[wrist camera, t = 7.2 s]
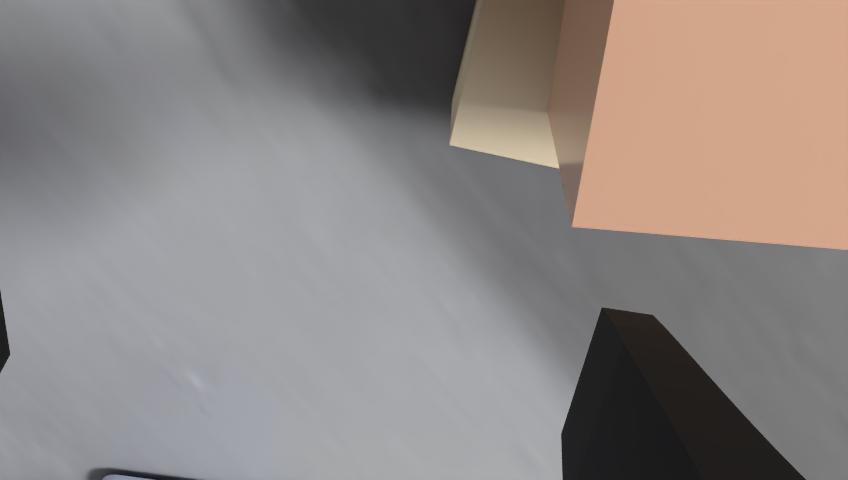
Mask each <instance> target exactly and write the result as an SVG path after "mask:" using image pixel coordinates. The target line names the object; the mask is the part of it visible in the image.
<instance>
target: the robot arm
mask: <svg viewBox="0 0 848 480" xmlns="http://www.w3.org/2000/svg"><path fill="white" fill-rule="evenodd" d="M9 356H10V350H9V344H8V338H7V331H6V325H5V318H4V312H3V305H2V299H1V292H0V372H1V370H2V369H3V367H4V365H5V363H6V361H7V359H8V357H9ZM561 440H562V471H563V480H806V479H805V478H804V477H803V476H802V475H801V474H800V473H799V472H798V471H797V470H796V469H795V468H794V467H793V466H792V465H791V464H790V463H789V462H788V461H787V460H786V459H785V458H784V457H783V456H782V455H781V454H780V453H779V452H778V451H777V450H776V449H775V448H774V447H773V446H772V445H771V444H770V443H769V441H768V440H767V439H766V438H765V437H764V436H763V435H762V434H761V433H760V432H759V431H758V430H757V429H756V428H755V427H754V426H753V424H752V423H751V422H750V421H749V420H748V419H747V418H746V417H745V416H744V415H743V414H742V413H741V412H740V410H739V409H738V408H737V407H736V406H735V405H734V404H733V403H732V402H731V401H730V399H729V398H728V397H727V396H726V395H725V394H724V393H723V392H722V391H721V389H720V388H719V387H718V386H717V385H716V384H715V383H714V382H713V380H712V379H711V378H710V377H709V376H708V375H707V374H706V373H705V371H704V370H703V369H702V368H701V367H700V366H699V365H698V364H697V363H696V361H695V360H694V359H693V358H692V357H691V356H690V355H689V354H688V352H687V351H686V350H685V349H684V348H683V347H682V346H681V345H680V343H679V342H678V341H677V340H676V339H675V338H674V337H673V336H672V335H671V334H670V332H669V331H668V330H667V329H666V328H665V327H664V326H663V325H662V324H661V323H660V322H659V321H658V320H657V319H656V318H655V317H654V316H653V315H649V314H642V313H635V312H629V311H622V310H615V309H609V308H602V309H601V312H600V315H599V318H598V321H597V324H596V328H595V331H594V334H593V337H592V340H591V343H590V346H589V349H588V353H587V356H586V359H585V362H584V365H583V368H582V371H581V374H580V377H579V381H578V384H577V387H576V390H575V393H574V396H573V399H572V402H571V405H570V409H569V412H568V415H567V418H566V421H565V424H564V427H563V430H562V433H561ZM102 480H154V479H146V478H138V477H131V476H123V475H108V476H105V477H104V478H103V479H102Z"/></svg>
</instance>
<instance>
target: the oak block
mask: <svg viewBox="0 0 848 480" xmlns="http://www.w3.org/2000/svg"><path fill="white" fill-rule="evenodd" d="M564 4H565V0H476V2H475V7H474V11H473V15H472V19H471V23H470V28H469V32H468V36H467V40H466V44H465V48H464V53H463V57H462V61H461V65H460V69H459V74H458V78H457V82H456V86H455V90H454V94H453V99H452V112H451V127H450V143H449V145H452V146H457V147H461V148H466V149H471V150H475V151H480V152H485V153H489V154H494V155H499V156H503V157H508V158H513V159H517V160H522V161H527V162H531V163H536V164H541V165H545V166H550V167H555V168H559V164H558V160H557V155H556V150H555V146H554V141H553V136H552V132H551V127H550V122H549V118H548V107H549V101H550V94H551V88H552V82H553V75H554V69H555V62H556V56H557V49H558V43H559V36H560V30H561V23H562V17H563V10H564Z"/></svg>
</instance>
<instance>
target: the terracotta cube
mask: <svg viewBox="0 0 848 480" xmlns="http://www.w3.org/2000/svg"><path fill="white" fill-rule="evenodd" d="M548 118H549V122H550V127H551V132H552V136H553V141H554V146H555V150H556V155H557V160H558V164H559V169H560V174H561V178H562V183H563V188H564V192H565V197H566V202H567V206H568V211H569V216H570V220H571V225H572V227H580V228H592V229H604V230H616V231H628V232H640V233H652V234H664V235H676V236H688V237H700V238H712V239H724V240H736V241H748V242H761V243H773V244H785V245H797V246H809V247H821V248H833V249H845V250H848V0H565V4H564V10H563V17H562V23H561V30H560V36H559V43H558V49H557V56H556V62H555V69H554V75H553V82H552V88H551V94H550V101H549V107H548Z"/></svg>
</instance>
